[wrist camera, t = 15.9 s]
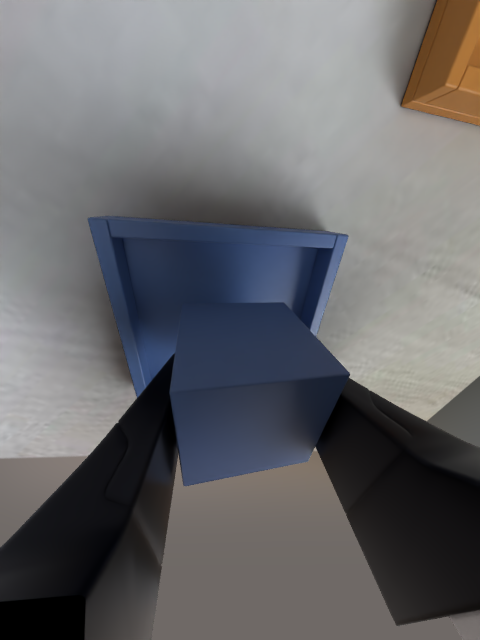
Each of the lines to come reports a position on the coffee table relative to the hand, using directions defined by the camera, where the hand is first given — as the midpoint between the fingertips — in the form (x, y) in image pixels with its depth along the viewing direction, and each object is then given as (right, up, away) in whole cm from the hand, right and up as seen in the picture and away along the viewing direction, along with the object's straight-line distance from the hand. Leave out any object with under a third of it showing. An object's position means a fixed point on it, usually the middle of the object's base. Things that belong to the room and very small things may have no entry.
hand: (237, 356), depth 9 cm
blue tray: (-1, +2, +3) cm, 3 cm away
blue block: (0, 0, +1) cm, 1 cm away
